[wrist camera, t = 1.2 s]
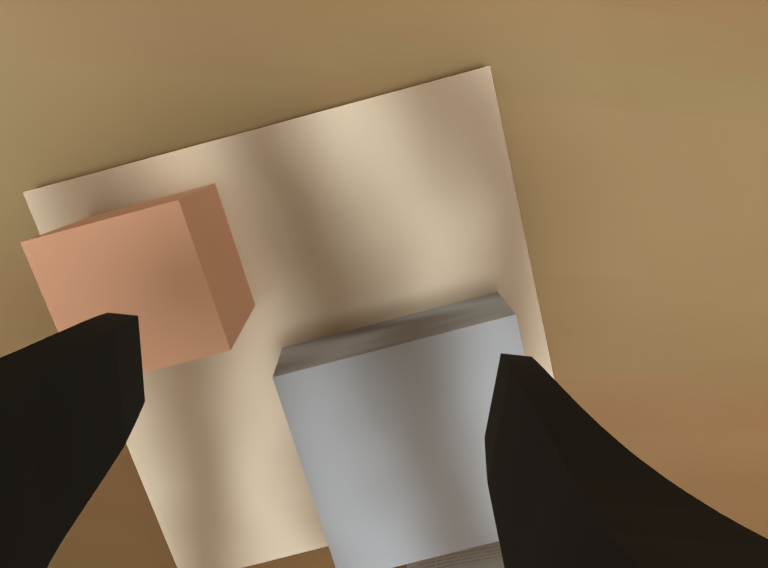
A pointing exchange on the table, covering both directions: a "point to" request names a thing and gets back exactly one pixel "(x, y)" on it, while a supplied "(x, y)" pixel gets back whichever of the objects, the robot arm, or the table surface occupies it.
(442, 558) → the supplement box
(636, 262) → the table surface
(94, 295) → the block
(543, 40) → the table surface
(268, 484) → the base board
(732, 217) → the table surface
